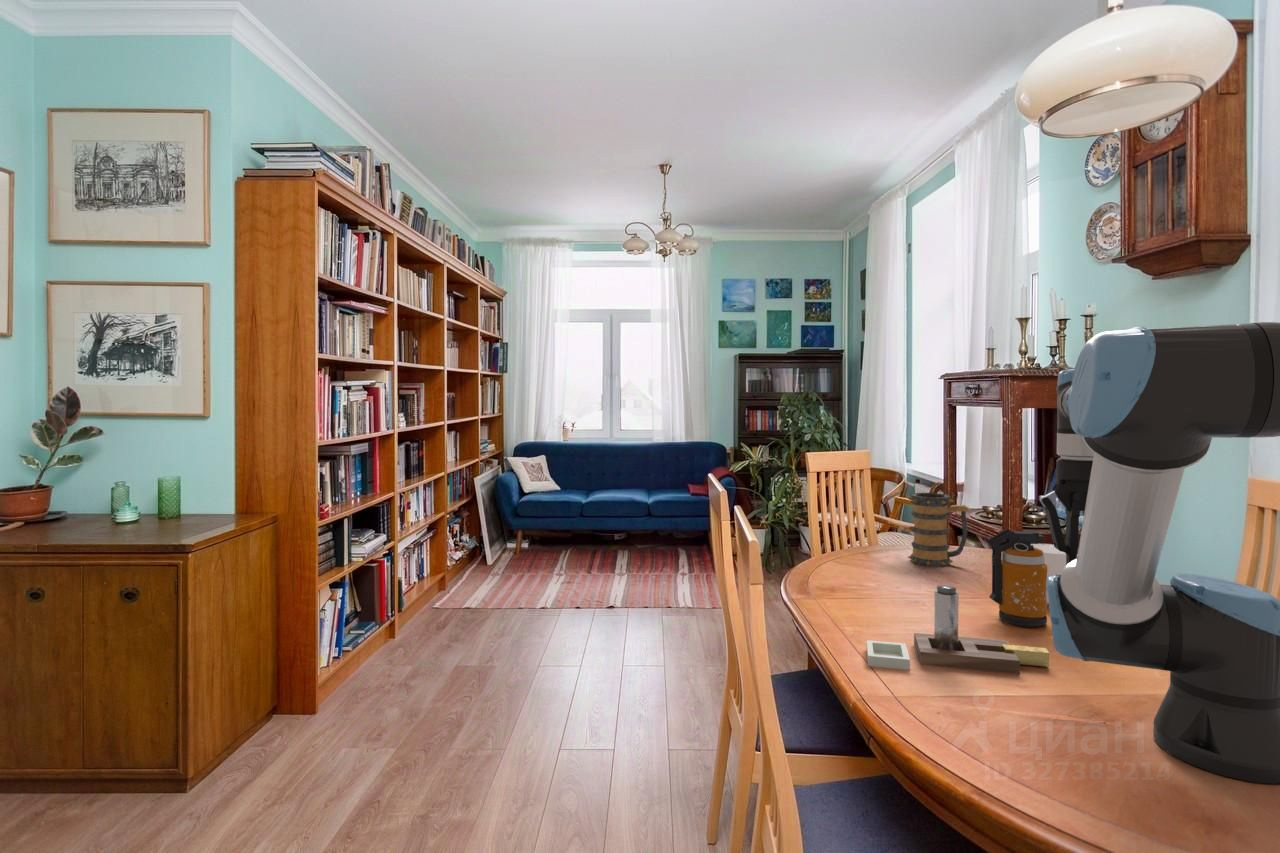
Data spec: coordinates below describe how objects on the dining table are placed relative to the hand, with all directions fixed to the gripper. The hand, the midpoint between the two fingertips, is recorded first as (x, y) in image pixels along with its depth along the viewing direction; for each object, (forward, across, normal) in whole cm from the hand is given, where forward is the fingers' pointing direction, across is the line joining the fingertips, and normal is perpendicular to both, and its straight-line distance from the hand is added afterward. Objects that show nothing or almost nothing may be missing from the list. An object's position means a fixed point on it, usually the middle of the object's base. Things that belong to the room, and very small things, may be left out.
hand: (1080, 591), depth 116 cm
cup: (+15, -8, -48) cm, 51 cm away
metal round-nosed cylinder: (+14, +22, 0) cm, 25 cm away
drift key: (+14, +8, 0) cm, 17 cm away
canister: (+15, +4, -27) cm, 31 cm away
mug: (+15, +12, -78) cm, 80 cm away
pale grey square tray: (+14, +32, +4) cm, 35 cm away
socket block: (+14, +18, 0) cm, 23 cm away
